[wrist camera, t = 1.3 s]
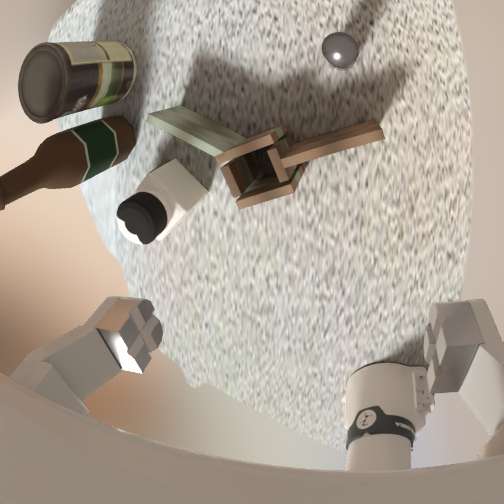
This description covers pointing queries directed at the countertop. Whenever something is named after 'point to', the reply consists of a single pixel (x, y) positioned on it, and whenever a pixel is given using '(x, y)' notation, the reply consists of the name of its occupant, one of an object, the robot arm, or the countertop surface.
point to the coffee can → (74, 77)
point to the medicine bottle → (159, 203)
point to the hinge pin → (340, 50)
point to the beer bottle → (70, 158)
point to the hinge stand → (239, 148)
